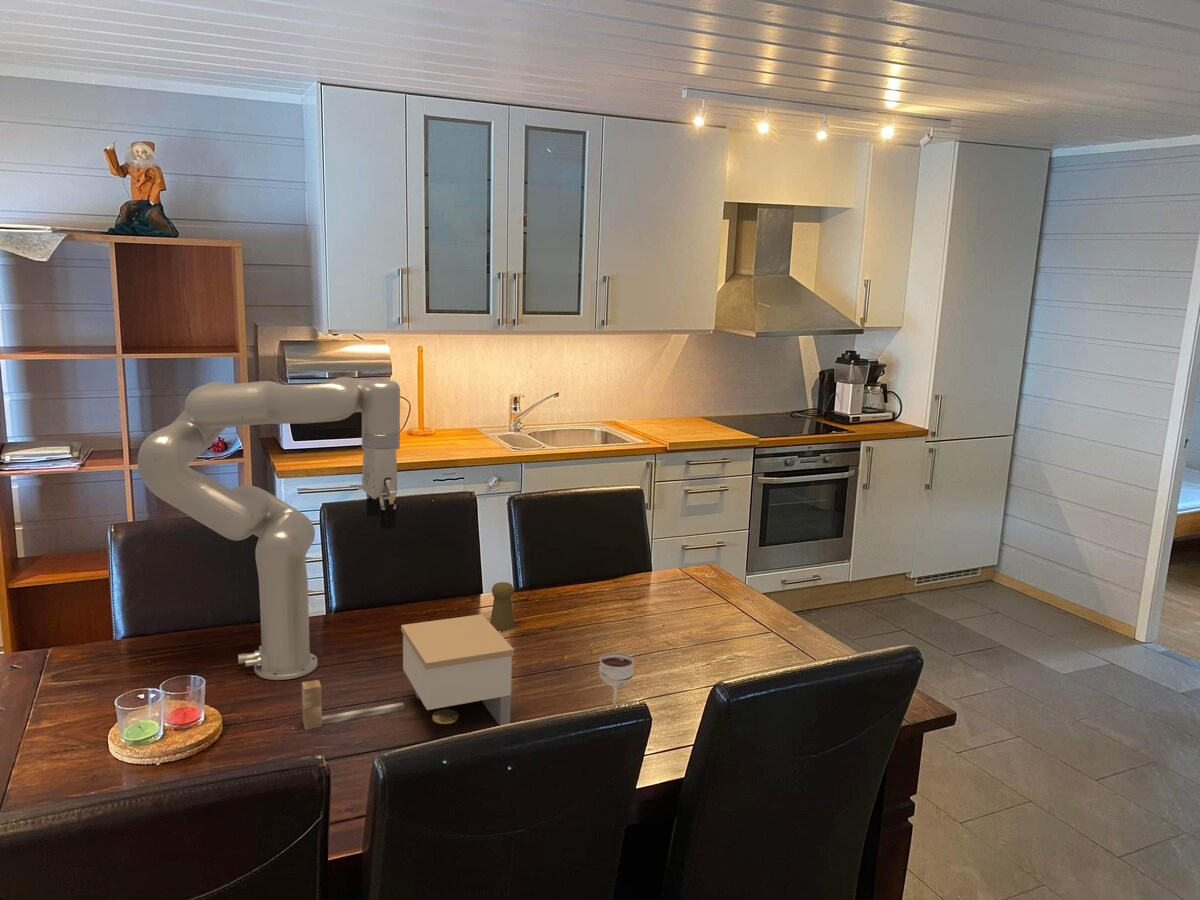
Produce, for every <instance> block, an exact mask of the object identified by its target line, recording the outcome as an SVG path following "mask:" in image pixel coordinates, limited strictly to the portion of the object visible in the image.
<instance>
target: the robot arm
mask: <svg viewBox="0 0 1200 900" xmlns="http://www.w3.org/2000/svg"><path fill="white" fill-rule="evenodd" d="M354 413H361V449H363V456H362V457H363V459H362V477H361V478H362V481H361V488H362V491H363V492H364V493H365V494H366V516H367V517H368V518H370V517H378V518H379V519H378V521H379V522H378V527H379V529H381V530H386V529H394V528H396V523H397V521H396V520H397V517H396V515H397V513H396V509H397V505H396V503H397V501H396V500H397V499H396V496H397V494H398V464H397V462H398V460H397V451H396V450H399V449H400V448H401V447H400V445H401V443H400V442H401V435H400V434H401V430H400V429H401V388H400V384H399V383H398V382H397V381H394V380H390V379H369V380H368V379H360V378H356V377H355V378H354V377H349V376H341V377H340V376H339V377H337V378H334V379H332V380H331V381H329V382H326V383H315V384H313V383H312V384H300V385H299V384H298V385H297V384H296V385H290V384H288V385H287V384H281V383H278V382H275V381H272V380H271V381H270V380H264V381H263V380H262V381H251V382H240V383H239V382H238V383H237V382H236V383H228V382H225V381H217V380H216V381H212V382H208V383H206V384H203V385H200V386H197V387H195V388H194V389H193V390H191V392H189V393H188V395H187V396H186V399H185V401H184V410H183V411H182V412H181V414H179V415H178V416H177V417H176V419H174V421H172V423H171V424H169V425H167V426H165V427H162V428H160V429H158V430H156V431H154V432H152V433H151V434H150V435H148V436H147V437H146V438H145V439H144V441H143V442H142V444H141V446H140V447H139V449H138V455H137V470H138V474H139V476H140V478H141V481H142V482H143V484H144V485H145V486H146V488H147V489H148V490H149V491H150V493H152V494H154V495H155V496H156V497H158V498H159V499H160V500H161V501H164V502H165V503H167V504H169V505H171V506H173V508H176V509H177V510H179V511H180V512H182V513H185V514H186V515H187V516H189V517H191V518H192V519H194V520H196V521H197V522H199V523H200V524H202V525H203V526H205V527H207V528H209V529H211V530H212V531H213V532H216V533H217V534H218V535H220V536H222V537H224V538H226V539H228V540H231V541H243V540H245V539H247V538H249V537H250V536H252V535H254V536H255V537H258V540H257V542H256V546H255V562H256V563H255V564H256V569H257V570H256V571H257V575H258V576H257V577H258V589H259V592H258V593H259V610H260V633H261V634H260V636H261V637H260V638H261V639H260V640H261V645H259V646H258V649H257V650H254V651H253V652H250V653H240V654H239V653H238V654H237V659H238V660H237V662H238V665H240V664H241V665H242V664H244V665H245V667H251V666H252V667H254V669H253V670H254V673H255V674H256V676H258V677H259V678H262V679H265V680H271V681H285V680H291V679H298V678H301V677H303V676H307V675H309V674H310V673H312V672H313V671H315V669H316V668H317V667H318V658H317V656H316V655H315V654H314V653H311V651H310V649H311V648H310V647H311V646H310V615H309V614H310V613H309V612H310V611H309V608H310V607H309V605H310V603H309V582H308V571H307V564H306V563H307V562H306V561H307V560H306V558H307V553H308V551H309V550H310V548H311V546H312V545H313V543H314V540H315V535H316V534H315V533H316V532H315V531H316V530H315V527H314V525H313V522H312V521H311V520H310V518H309V517H308V516H306V515H305V514H304V513H303V512H301V511H299V510H298V509H297V508H295V507H293V506H292V505H290V504H288V503H287V502H285V501H283V500H281V499H280V498H279V497H277V496H275V495H273V494H272V493H270V492H269V491H266V490H265V489H262V488H261V487H259V486H255V485H249V484H247V485H246V484H245V485H240V486H236V487H234V488H229V487H228V486H225V484H222V483H220V482H219V481H217V480H215V479H214V478H212V477H211V476H209V475H206V474H205V473H202V472H199V471H196V470H195V469H192V468H191V466H189V463H191V462H193V461H195V460H196V459H198V457H200V456H201V455H202V454H203V453H204V452H205V451H206V450H207V449H208V447H210V446H211V445H212V443H213V442H215V440H216V439H217V438H218V437H219V436H220V435H221V433H222V432H223V431H224V430H225V429H226V428H229V427H230V428H231V427H242V426H253V425H256V426H257V425H267V424H268V425H271V424H272V425H273V424H274V425H284V424H285V425H286V424H288V425H289V424H290V425H291V424H292V425H293V424H295V425H296V424H297V425H298V424H314V423H326V422H327V423H329V422H330V423H331V422H337V421H338V422H339V421H342V420H345V419H347V418H349V417H351V415H353V414H354Z"/></svg>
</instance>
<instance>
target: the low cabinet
mask: <svg viewBox="0 0 1200 900" xmlns="http://www.w3.org/2000/svg"><path fill="white" fill-rule="evenodd" d="M400 625H401V626H400V631H401V633H402V670H403V672H404V674H405V676H407V679H408V680H409V682H410V683H411V685H412V687H413V689H414V691H415V696H416V698H418V699H419V700H421V702H422V704H423V706H424V708H425V710H427V711H430V710H431V711H432V710H435V709H440V708H447V707H451V706H452V707H453V706H457V705H463V704H469V703H474V702H479V701H481V700H482V701H481V702H482V703H483V706H485V707H486V709H487V710H488V711H489V714H491V716H492V717H493V719H494V718H495V719H494V721H496V723H497V724H498V725H499V726H500V725H502V724H506V723H510V724H511V711H512V710H511V708H512V707H511V706H512V672H513V671H512V667H513V666H512V665H513V664H512V663H513V661H512V660H513V659H512V657H513V656H515V648H513V647H512V646H511V644H510V643H509V642H508V641H507V640H506V639H505V638H504V637H503V635H501V632H498V631H497V630H496V629H495V628H494V627H493V626H492V625H491V623H490V621H489V620H488V619H487V618H486V617H485V616H484V614H483V613H481V614H480V613H479V614H473V615H466V616H460V617H452V618H444V619H437V620H431V621H429V620H428V621H421V622H414V623H407V624H400ZM418 699H417V700H418Z"/></svg>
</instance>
